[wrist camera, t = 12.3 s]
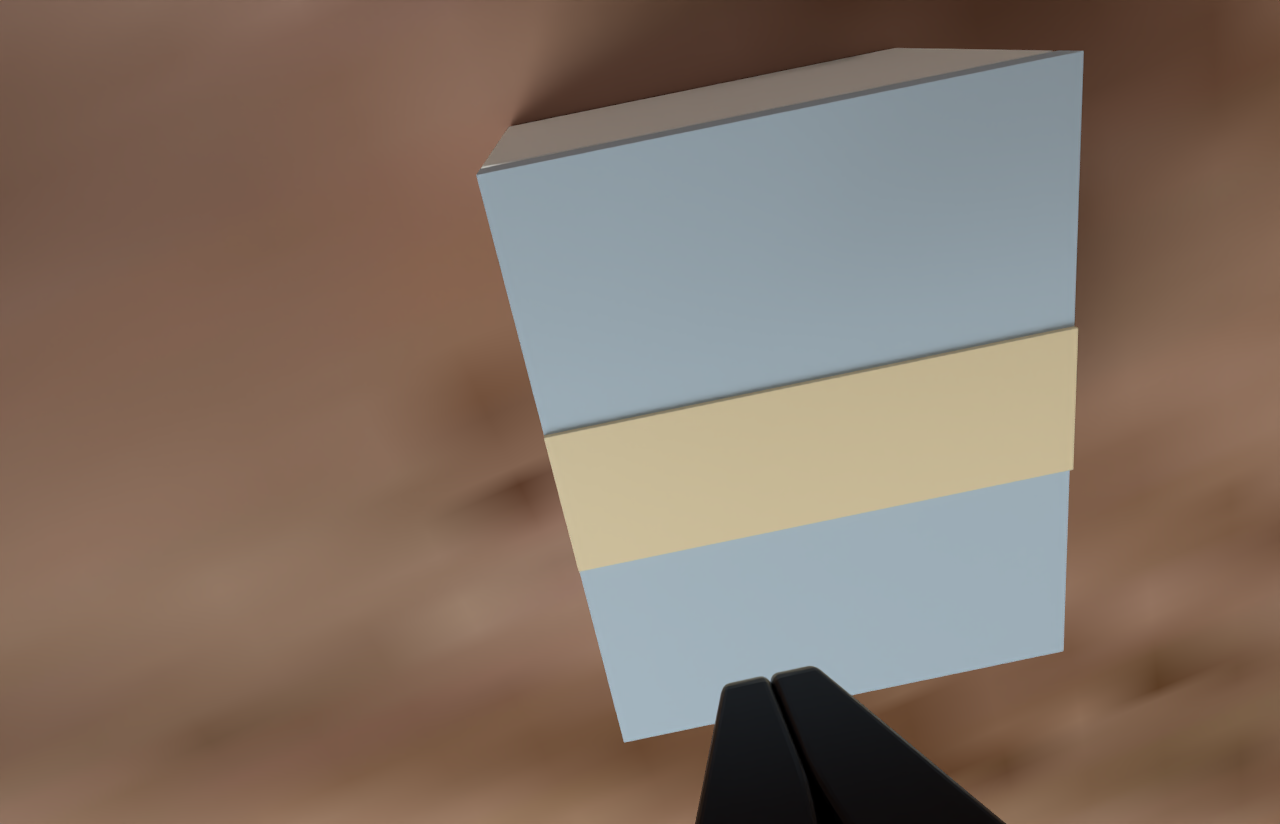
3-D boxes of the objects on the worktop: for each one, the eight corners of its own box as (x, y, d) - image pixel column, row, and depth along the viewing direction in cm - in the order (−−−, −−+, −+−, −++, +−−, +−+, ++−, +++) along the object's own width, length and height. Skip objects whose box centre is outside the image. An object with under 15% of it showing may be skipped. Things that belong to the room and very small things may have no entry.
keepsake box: (606, 536, 21) (620, 709, 16) (508, 126, 17) (482, 166, 11) (917, 473, 21) (1041, 624, 16) (895, 47, 17) (1052, 50, 11)
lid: (621, 717, 15) (624, 746, 15) (481, 168, 11) (475, 176, 11) (1045, 629, 15) (1066, 654, 15) (1058, 50, 11) (1088, 51, 11)
